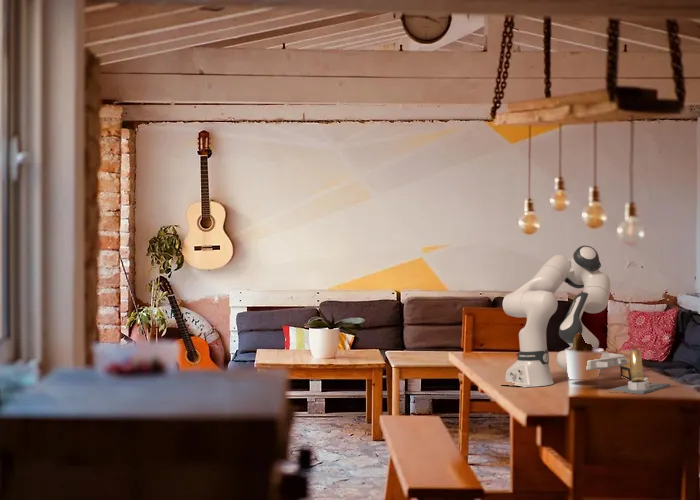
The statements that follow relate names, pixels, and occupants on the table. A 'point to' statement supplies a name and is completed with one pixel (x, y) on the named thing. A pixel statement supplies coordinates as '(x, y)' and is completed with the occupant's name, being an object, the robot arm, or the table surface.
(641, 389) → the coupling board
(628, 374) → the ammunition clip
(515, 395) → the table surface
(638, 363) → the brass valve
